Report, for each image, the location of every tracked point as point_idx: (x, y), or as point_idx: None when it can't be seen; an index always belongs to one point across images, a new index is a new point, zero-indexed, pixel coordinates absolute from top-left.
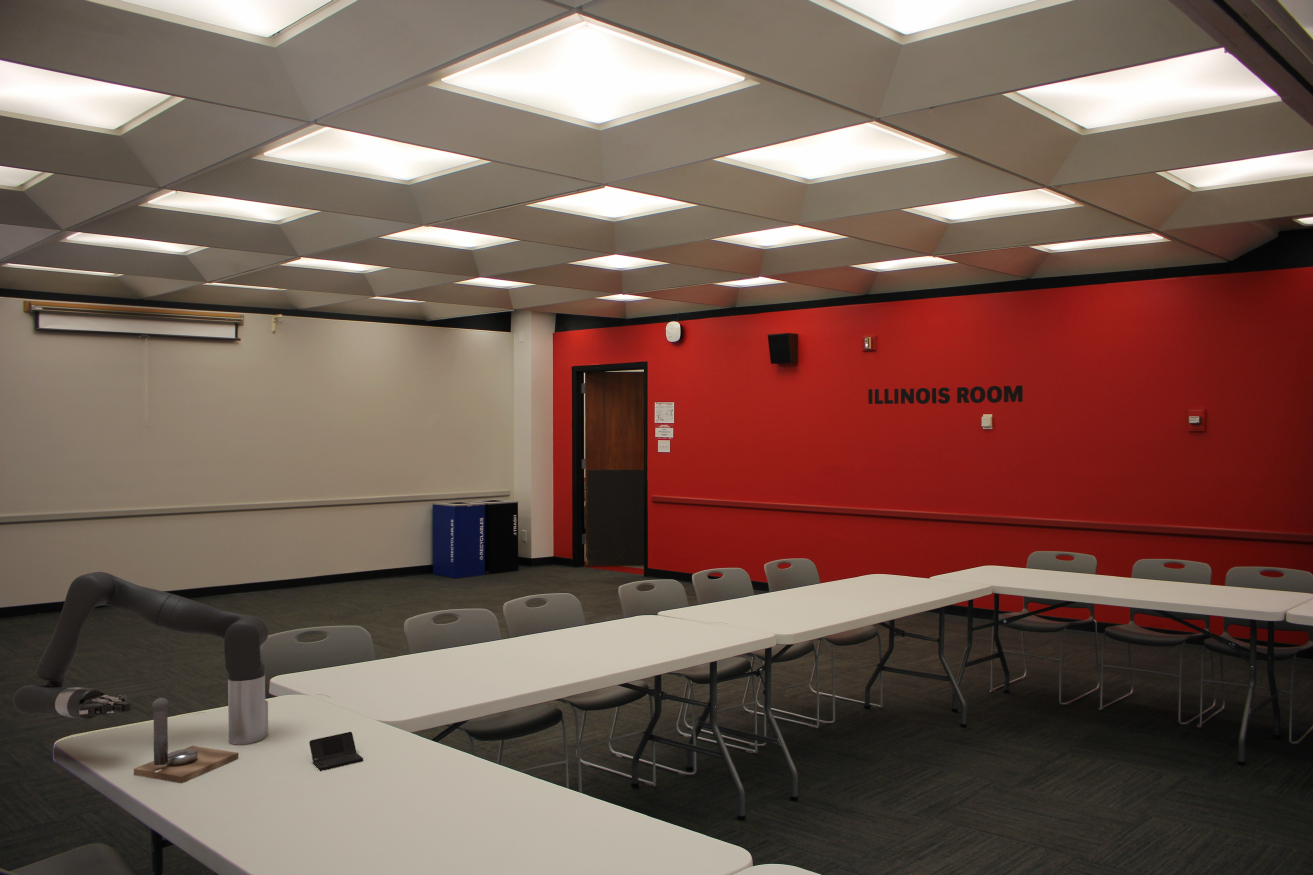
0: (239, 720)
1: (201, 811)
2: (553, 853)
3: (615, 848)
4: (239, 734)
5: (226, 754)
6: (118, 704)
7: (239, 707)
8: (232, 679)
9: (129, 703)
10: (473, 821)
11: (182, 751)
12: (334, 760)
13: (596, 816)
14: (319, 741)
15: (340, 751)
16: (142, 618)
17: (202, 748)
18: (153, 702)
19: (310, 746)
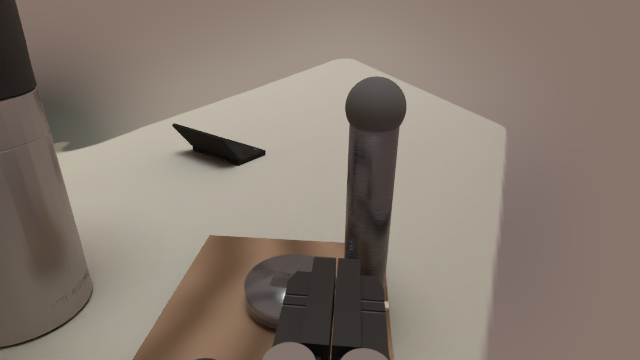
0: (73, 226)
1: (452, 183)
2: (372, 74)
3: (354, 68)
4: (84, 267)
5: (224, 247)
6: (360, 312)
7: (62, 185)
8: (14, 91)
9: (317, 259)
10: (348, 88)
11: (273, 290)
12: (233, 149)
13: (317, 72)
14: (210, 138)
15: (204, 147)
16: None
17: (166, 322)
18: (400, 94)
19: (226, 144)
